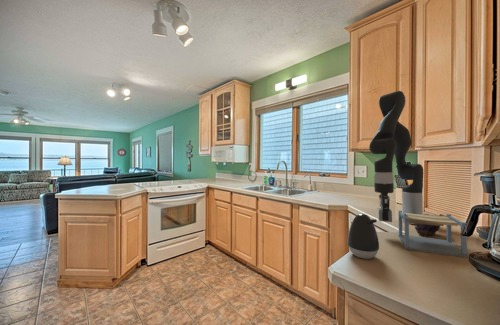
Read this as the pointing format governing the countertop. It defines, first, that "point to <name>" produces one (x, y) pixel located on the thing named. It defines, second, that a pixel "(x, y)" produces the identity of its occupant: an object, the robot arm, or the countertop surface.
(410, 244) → the trapdoor frame
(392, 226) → the countertop surface
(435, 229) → the rock
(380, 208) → the basalt cube
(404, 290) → the countertop surface
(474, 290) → the countertop surface
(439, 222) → the trapdoor
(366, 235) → the penguin figurine
